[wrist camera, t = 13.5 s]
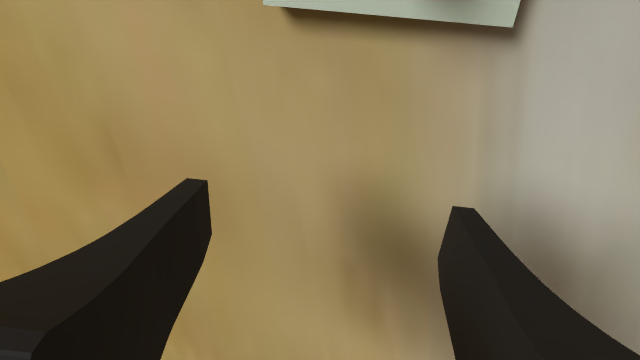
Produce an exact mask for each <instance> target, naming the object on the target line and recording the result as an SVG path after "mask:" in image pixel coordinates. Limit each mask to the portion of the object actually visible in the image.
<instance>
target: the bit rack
mask: <svg viewBox="0 0 640 360" xmlns="http://www.w3.org/2000/svg"><path fill="white" fill-rule="evenodd" d="M520 1H521V0H263V5H270V6H281V7H292V8H303V9H314V10H325V11H336V12H347V13H358V14H369V15H380V16H391V17H402V18H414V19H425V20H436V21H447V22H458V23H469V24H480V25H491V26H502V27H513V24H514V21H515V18H516V14H517V11H518V8H519V4H520Z"/></svg>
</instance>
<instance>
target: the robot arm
mask: <svg viewBox="0 0 640 360" xmlns="http://www.w3.org/2000/svg"><path fill="white" fill-rule="evenodd" d="M211 235H212V229H211V218H210V206H209V194H208V182H207V180H199V179H189V178H187V179H185V180H184V181H182V182H181V183H180V184H178V185H177V186H176V187H174V188H173V189H172V190H170V191H169V192H168V193H166V194H165V195H164V196H162V197H161V198H160V199H158V200H157V201H155V202H154V203H153V204H151V205H150V206H148V207H147V208H146V209H144V210H143V211H142V212H140V213H139V214H137V215H136V216H134V217H133V218H131V219H129V220H128V221H126V222H125V223H123V224H122V225H120V226H119V227H117V228H116V229H114V230H113V231H111V232H109V233H108V234H106V235H104V236H102V237H101V238H99V239H97V240H95V241H94V242H92V243H90V244H88V245H86V246H84V247H82V248H80V249H78V250H76V251H74V252H72V253H70V254H68V255H66V256H64V257H61V258H59V259H57V260H55V261H53V262H50V263H48V264H46V265H44V266H41V267H39V268H37V269H34V270H32V271H29V272H27V273H24V274H21V275H19V276H16V277H13V278H11V279H8V280H5V281H2V282H0V360H160V359H161V356H162V354H163V351H164V348H165V345H166V342H167V339H168V337H169V334H170V332H171V330H172V327H173V325H174V323H175V321H176V319H177V317H178V314H179V312H180V310H181V308H182V306H183V304H184V302H185V300H186V298H187V296H188V293H189V291H190V289H191V287H192V285H193V283H194V281H195V279H196V276H197V274H198V272H199V270H200V268H201V266H202V263H203V261H204V258H205V255H206V251H207V248H208V245H209V242H210V238H211ZM438 270H439V282H440V291H441V296H442V300H443V305H444V309H445V314H446V319H447V323H448V327H449V332H450V336H451V341H452V345H453V350H454V354H455V359H456V360H640V355H638V354H636V353H635V352H633V351H632V350H630V349H628V348H627V347H625V346H624V345H622V344H621V343H619V342H618V341H616V340H615V339H613V338H612V337H610V336H609V335H607V334H606V333H604V332H603V331H602V330H600V329H599V328H598V327H596V326H595V325H593V324H592V323H591V322H589V321H588V320H587V319H585V318H584V317H582V316H581V315H580V314H579V313H577V312H576V311H575V310H573V309H572V308H571V307H570V306H569V305H567V304H566V303H565V302H564V301H563V300H561V299H560V298H559V297H558V296H557V295H556V294H554V293H553V292H552V291H551V290H550V289H549V288H547V287H546V286H545V285H544V284H543V283H542V282H541V281H540V280H539V279H538V278H537V277H536V276H535V275H534V274H533V273H532V272H531V271H530V270H529V269H528V268H527V267H526V266H525V265H524V264H523V263H522V262H521V261H520V260H519V259H518V258H517V257H516V256H515V255H514V254H513V253H512V252H511V250H510V249H509V248H508V247H507V246H506V245H505V244H504V243H503V241H502V240H501V239H500V238H499V237H498V236H497V235H496V233H495V232H494V231H493V230H492V229H491V228H490V226H489V225H488V224H487V223H486V222H485V221H484V219H483V218H482V217H481V216H480V215H479V213H478V212H477V211H476V210H475V209H474V208H466V207H456V206H453V207H452V210H451V214H450V217H449V221H448V224H447V228H446V231H445V235H444V238H443V242H442V245H441V249H440V252H439V256H438Z"/></svg>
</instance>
